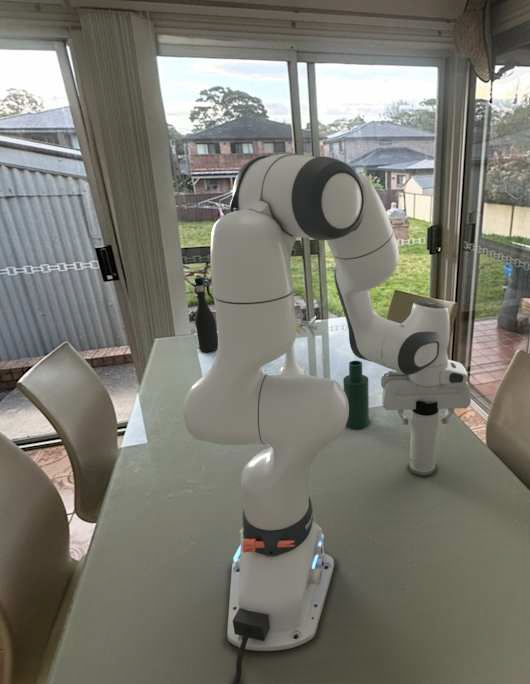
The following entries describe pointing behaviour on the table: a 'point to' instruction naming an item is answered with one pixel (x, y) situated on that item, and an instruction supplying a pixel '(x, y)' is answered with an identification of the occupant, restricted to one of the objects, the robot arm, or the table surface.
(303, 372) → the flower vase
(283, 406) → the robot arm
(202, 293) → the wine bottle
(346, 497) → the table surface
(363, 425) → the green bottle
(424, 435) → the travel mug
